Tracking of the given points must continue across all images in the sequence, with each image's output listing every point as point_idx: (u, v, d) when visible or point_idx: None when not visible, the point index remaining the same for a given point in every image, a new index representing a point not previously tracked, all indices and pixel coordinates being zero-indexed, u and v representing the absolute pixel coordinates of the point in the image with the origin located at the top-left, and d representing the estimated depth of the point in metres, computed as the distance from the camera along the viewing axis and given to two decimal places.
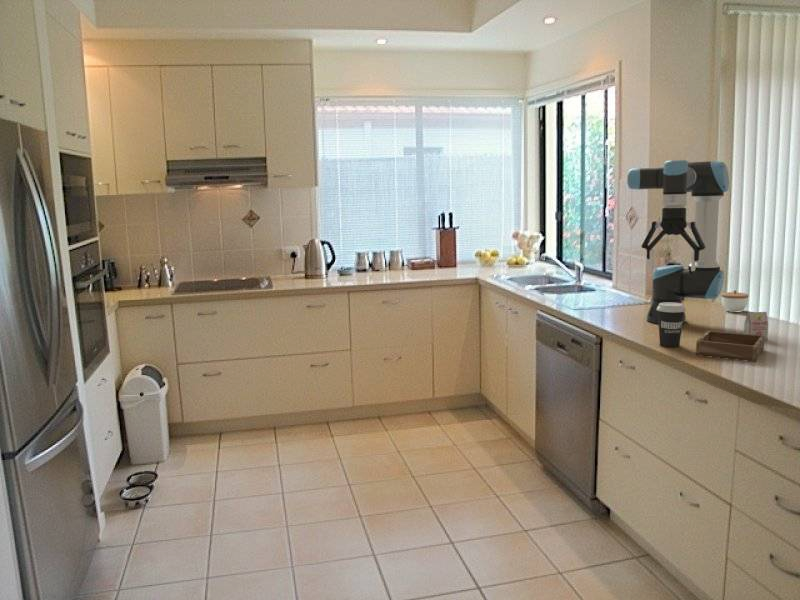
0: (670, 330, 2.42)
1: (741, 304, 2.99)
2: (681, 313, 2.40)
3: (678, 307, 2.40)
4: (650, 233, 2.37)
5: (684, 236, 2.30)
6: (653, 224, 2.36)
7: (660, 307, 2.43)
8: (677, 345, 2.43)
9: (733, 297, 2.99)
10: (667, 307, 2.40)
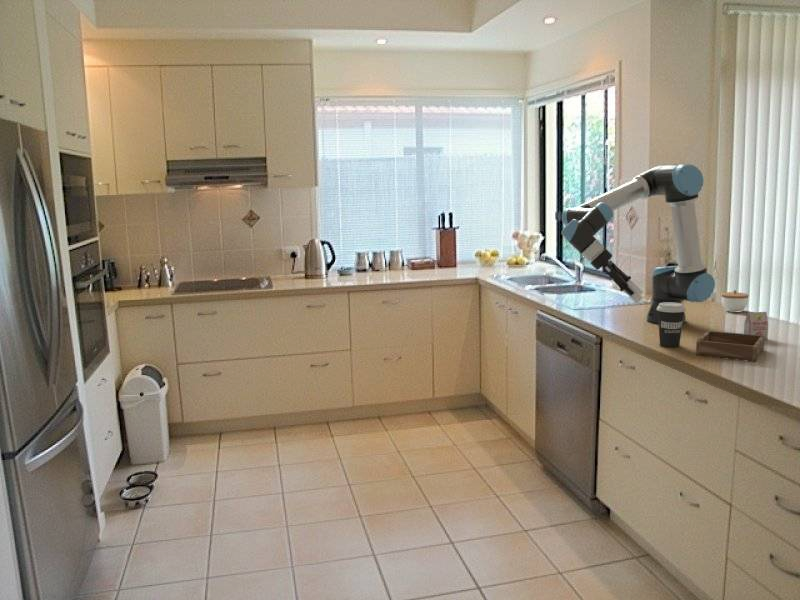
0: (670, 330, 2.42)
1: (741, 304, 2.99)
2: (681, 313, 2.40)
3: (678, 307, 2.40)
4: None
5: None
6: None
7: (660, 307, 2.43)
8: (677, 345, 2.43)
9: (733, 297, 2.99)
10: (667, 307, 2.40)
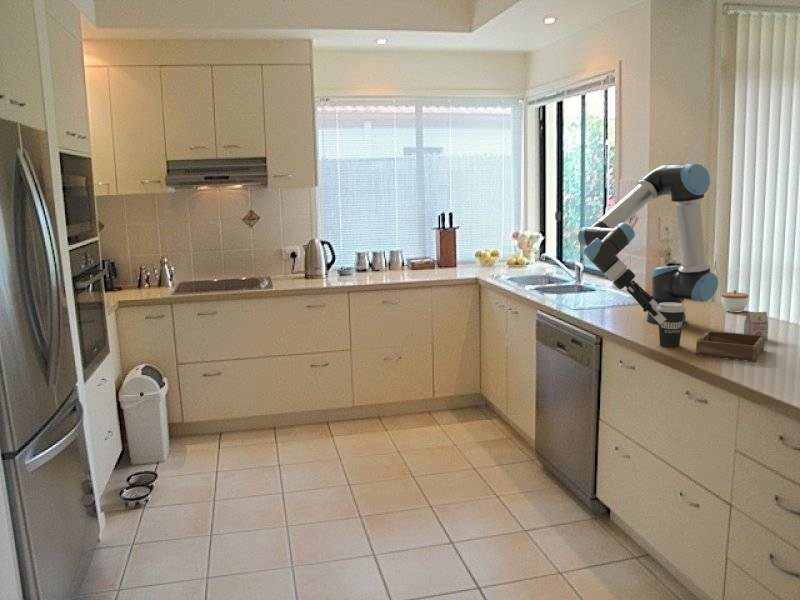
0: (670, 330, 2.42)
1: (741, 304, 2.99)
2: (681, 313, 2.40)
3: (678, 307, 2.40)
4: None
5: None
6: None
7: (660, 307, 2.43)
8: (677, 345, 2.43)
9: (733, 297, 2.99)
10: (667, 307, 2.40)
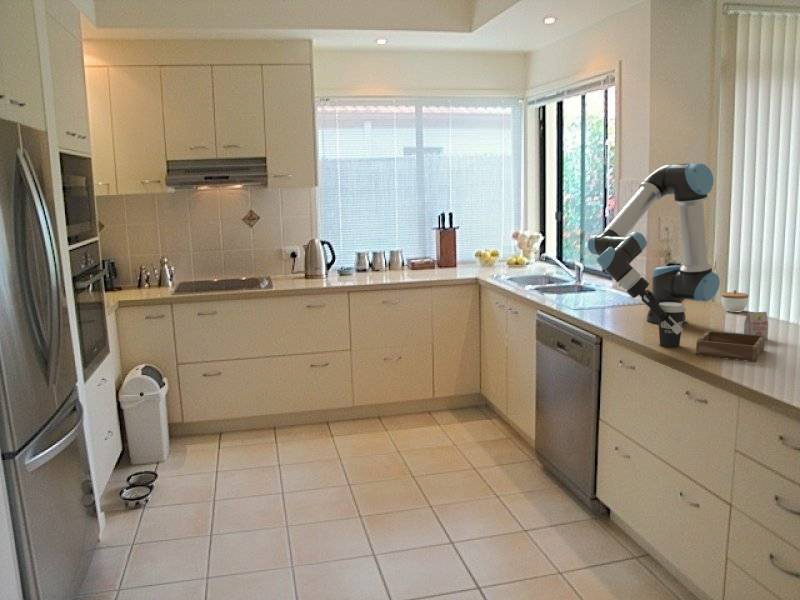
0: (670, 330, 2.42)
1: (742, 304, 2.99)
2: (681, 313, 2.40)
3: (678, 307, 2.40)
4: None
5: None
6: None
7: None
8: (677, 345, 2.43)
9: (733, 297, 2.99)
10: (667, 307, 2.40)
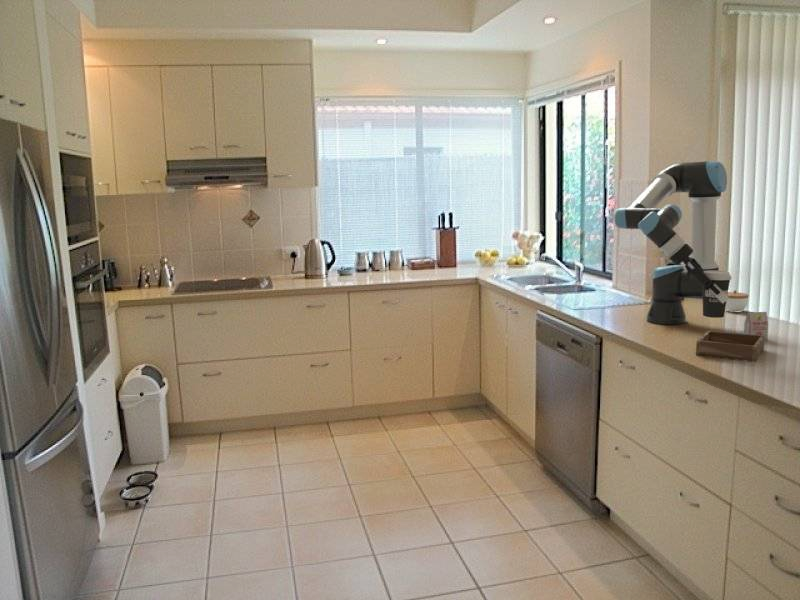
0: (714, 299, 2.29)
1: (742, 304, 2.99)
2: (727, 281, 2.28)
3: (724, 275, 2.27)
4: None
5: None
6: None
7: None
8: (722, 315, 2.31)
9: (733, 297, 2.99)
10: (712, 274, 2.28)
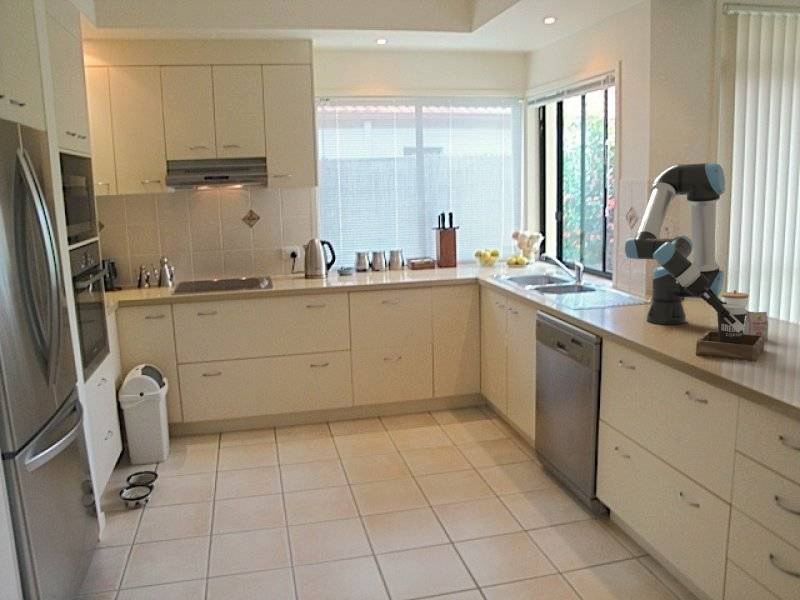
0: (731, 333, 2.29)
1: (741, 304, 2.99)
2: (743, 315, 2.28)
3: (740, 309, 2.28)
4: None
5: None
6: None
7: None
8: None
9: (733, 297, 2.99)
10: (728, 309, 2.28)
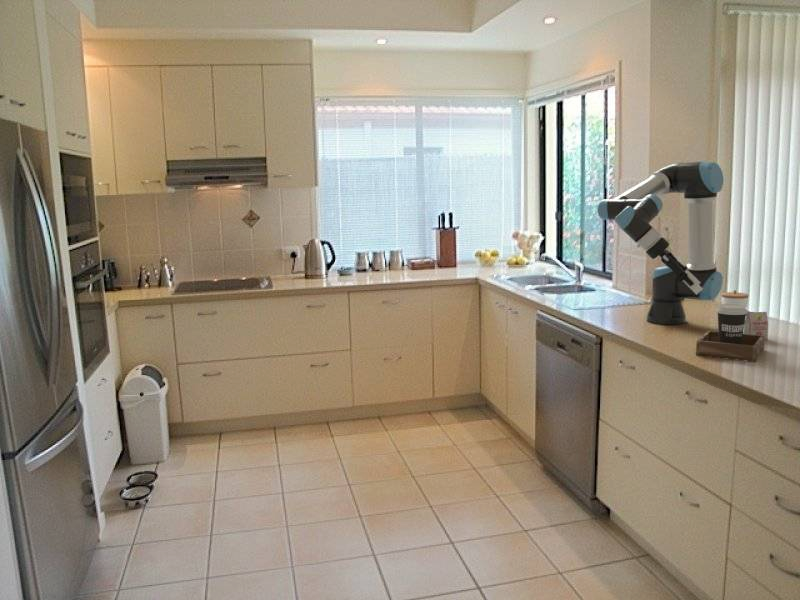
0: (731, 333, 2.29)
1: (742, 304, 2.99)
2: (743, 315, 2.28)
3: (740, 309, 2.28)
4: None
5: None
6: None
7: (721, 309, 2.30)
8: None
9: (733, 297, 2.99)
10: (729, 309, 2.28)
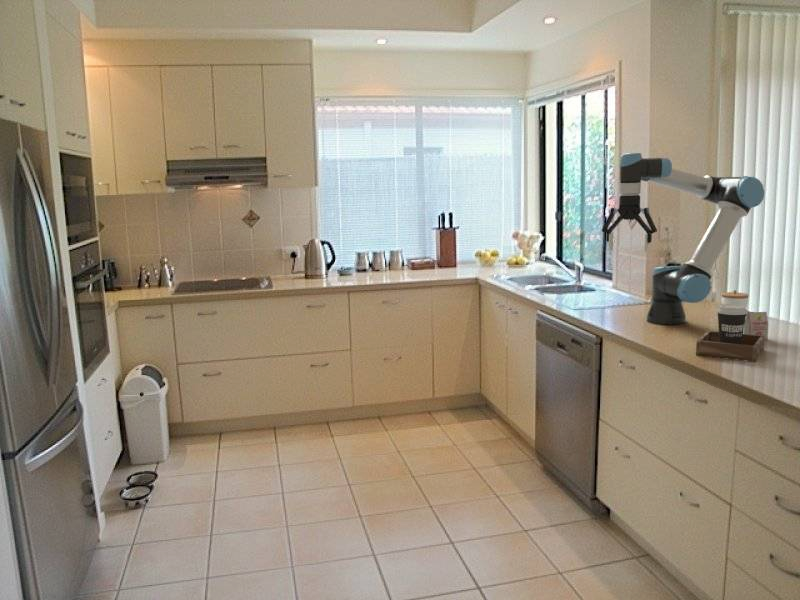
0: (731, 333, 2.29)
1: (741, 304, 2.99)
2: (743, 315, 2.28)
3: (740, 309, 2.27)
4: None
5: None
6: None
7: (721, 309, 2.30)
8: None
9: (733, 297, 2.99)
10: (729, 309, 2.28)
